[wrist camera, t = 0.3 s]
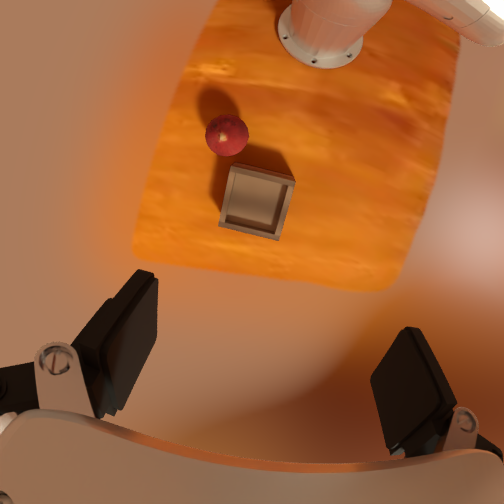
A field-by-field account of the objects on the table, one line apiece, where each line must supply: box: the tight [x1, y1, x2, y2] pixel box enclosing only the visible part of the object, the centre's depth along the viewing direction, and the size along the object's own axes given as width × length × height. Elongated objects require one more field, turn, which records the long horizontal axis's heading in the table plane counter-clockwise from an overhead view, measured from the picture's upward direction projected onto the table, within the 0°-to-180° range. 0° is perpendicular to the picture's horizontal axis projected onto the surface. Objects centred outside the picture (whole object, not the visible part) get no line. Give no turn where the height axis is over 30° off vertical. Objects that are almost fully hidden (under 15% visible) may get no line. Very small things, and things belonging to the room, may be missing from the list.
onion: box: [205, 114, 249, 157], centre depth 35 cm, size 6×6×8 cm
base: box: [218, 162, 296, 241], centre depth 41 cm, size 9×9×4 cm
